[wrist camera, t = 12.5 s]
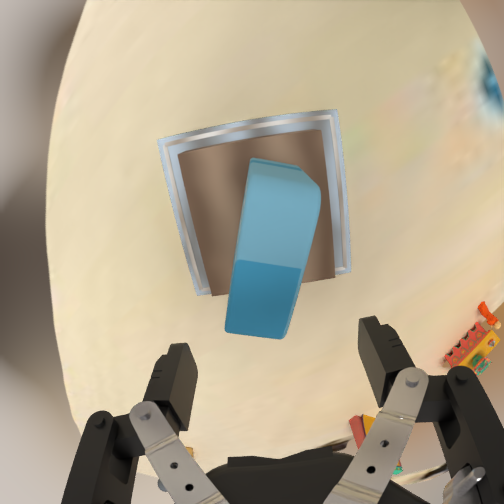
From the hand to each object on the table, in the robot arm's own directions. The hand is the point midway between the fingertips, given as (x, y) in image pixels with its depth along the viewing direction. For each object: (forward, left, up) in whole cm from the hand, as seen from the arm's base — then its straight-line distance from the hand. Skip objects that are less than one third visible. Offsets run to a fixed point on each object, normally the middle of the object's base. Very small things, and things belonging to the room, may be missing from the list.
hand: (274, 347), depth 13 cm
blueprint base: (0, 0, -24) cm, 24 cm away
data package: (0, 0, -19) cm, 19 cm away
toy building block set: (-28, +37, -24) cm, 52 cm away
